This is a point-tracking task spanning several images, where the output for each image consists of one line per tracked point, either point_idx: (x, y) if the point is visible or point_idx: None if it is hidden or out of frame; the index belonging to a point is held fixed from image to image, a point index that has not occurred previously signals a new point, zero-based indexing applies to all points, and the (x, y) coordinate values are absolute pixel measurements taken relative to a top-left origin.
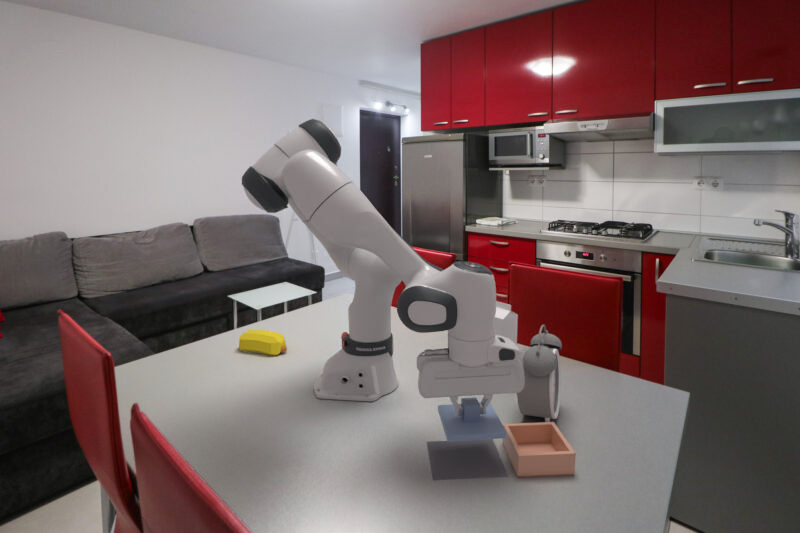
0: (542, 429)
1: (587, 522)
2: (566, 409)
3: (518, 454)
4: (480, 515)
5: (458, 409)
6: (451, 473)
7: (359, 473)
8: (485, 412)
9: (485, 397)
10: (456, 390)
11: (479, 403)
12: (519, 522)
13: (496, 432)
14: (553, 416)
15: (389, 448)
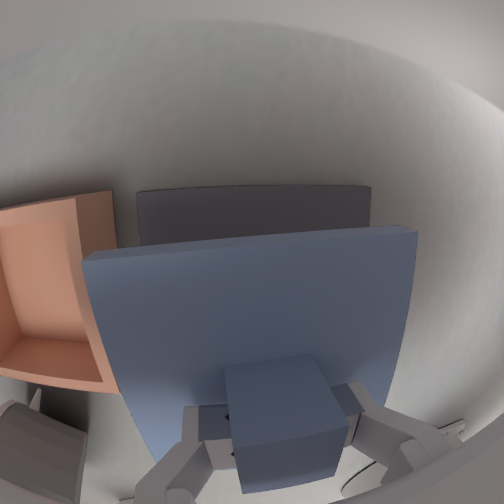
0: (21, 361)
1: (20, 62)
2: None
3: (74, 208)
4: (257, 51)
5: (365, 406)
6: (317, 211)
7: (480, 235)
8: (187, 412)
9: (188, 499)
10: (471, 486)
11: (223, 463)
12: (159, 31)
13: (136, 260)
14: (11, 401)
15: (426, 320)
